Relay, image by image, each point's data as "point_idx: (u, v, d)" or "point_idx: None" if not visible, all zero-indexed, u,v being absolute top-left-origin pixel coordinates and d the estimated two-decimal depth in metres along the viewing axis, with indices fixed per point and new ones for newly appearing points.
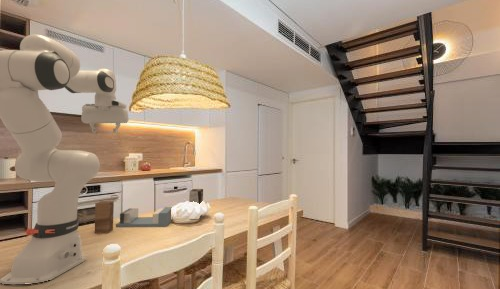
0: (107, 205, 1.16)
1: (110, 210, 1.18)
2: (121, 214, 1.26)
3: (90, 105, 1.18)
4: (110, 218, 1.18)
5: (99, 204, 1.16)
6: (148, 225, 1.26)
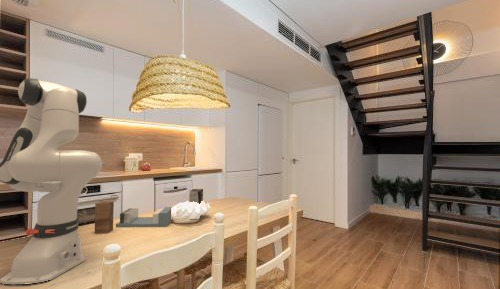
0: (107, 205, 1.16)
1: (110, 210, 1.18)
2: (121, 214, 1.26)
3: None
4: (110, 218, 1.18)
5: (99, 204, 1.16)
6: (148, 225, 1.26)
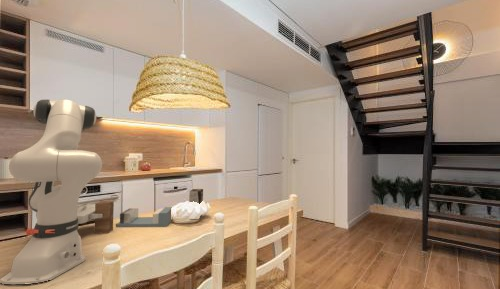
0: (107, 205, 1.16)
1: (110, 210, 1.18)
2: (121, 214, 1.26)
3: None
4: (110, 218, 1.18)
5: (99, 204, 1.16)
6: (148, 225, 1.26)
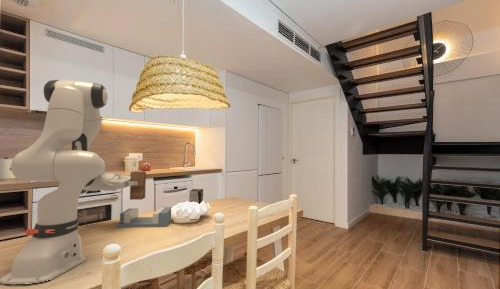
0: (141, 174, 1.27)
1: (143, 179, 1.29)
2: (121, 214, 1.26)
3: (108, 183, 1.22)
4: (143, 186, 1.30)
5: (134, 173, 1.27)
6: (148, 225, 1.26)
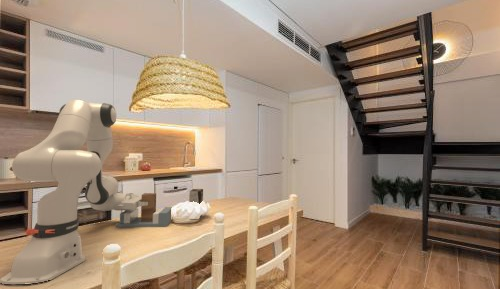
0: (152, 196, 1.31)
1: (154, 201, 1.33)
2: (121, 214, 1.26)
3: (120, 203, 1.25)
4: (154, 208, 1.33)
5: (145, 195, 1.30)
6: (148, 225, 1.26)
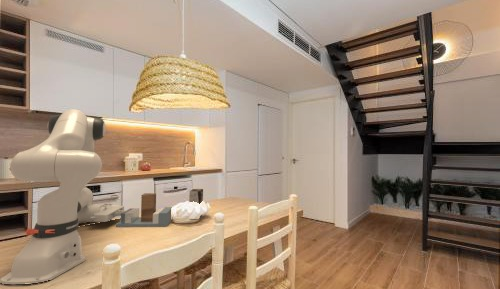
0: (152, 196, 1.30)
1: (154, 201, 1.32)
2: (122, 214, 1.26)
3: (93, 215, 1.24)
4: (154, 208, 1.32)
5: (145, 196, 1.30)
6: (148, 225, 1.26)
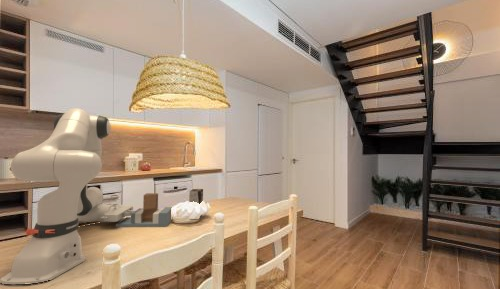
0: (154, 196, 1.30)
1: (156, 201, 1.32)
2: (132, 214, 1.27)
3: (103, 215, 1.25)
4: (156, 208, 1.33)
5: (147, 196, 1.30)
6: (148, 225, 1.26)
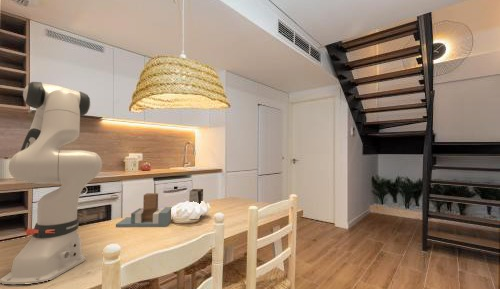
0: (154, 196, 1.30)
1: (156, 201, 1.32)
2: (132, 214, 1.27)
3: None
4: (156, 208, 1.33)
5: (147, 196, 1.30)
6: (148, 225, 1.26)
